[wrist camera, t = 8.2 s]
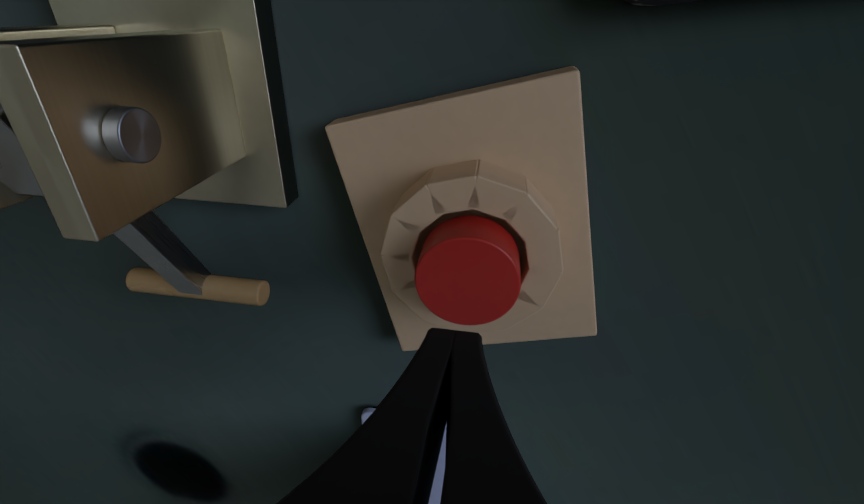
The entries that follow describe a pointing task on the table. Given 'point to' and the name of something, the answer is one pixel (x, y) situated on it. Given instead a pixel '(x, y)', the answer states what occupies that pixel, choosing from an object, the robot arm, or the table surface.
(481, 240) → the button
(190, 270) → the lever
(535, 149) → the control block
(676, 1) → the phone
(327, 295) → the table surface
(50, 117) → the bracket
